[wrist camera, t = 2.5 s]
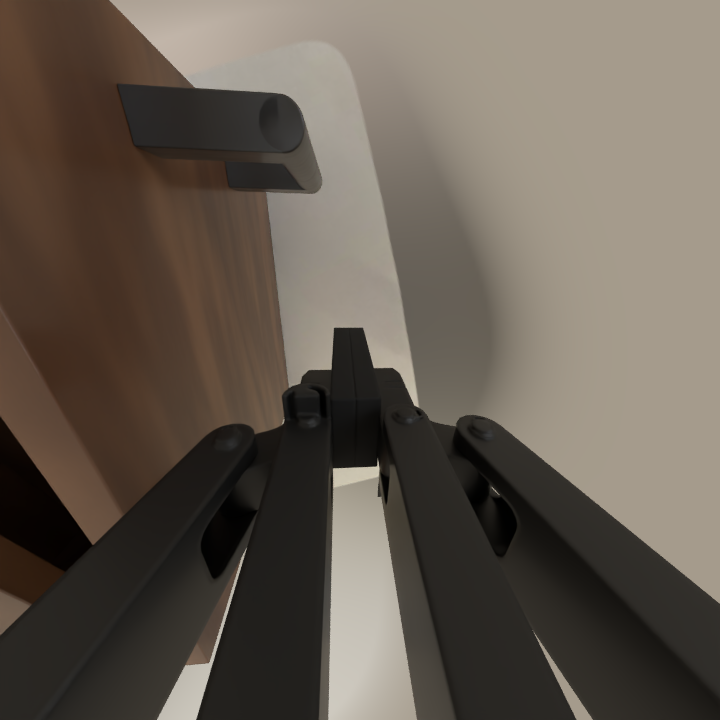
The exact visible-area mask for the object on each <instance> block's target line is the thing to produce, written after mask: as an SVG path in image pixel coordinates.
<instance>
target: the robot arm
mask: <svg viewBox="0 0 720 720" xmlns="http://www.w3.org/2000/svg"><path fill="white" fill-rule="evenodd" d="M282 403H283V411H284V419H285V421H284V424H283V425H281V426H279V427H277V428H275V429H272V430H269V431H265V432H261V433H257V434H255V432H254V429H253V428H252V427H251V426H249V425H246V424H242V423H239V424H229V425H225V426H221V427H219V428H217V429H215V430H213V431H211V432H210V433H209V434H207V435H206V436H205V437H204V438H203V439H202V440H201V441H200V442H199V443H198V444H197V445H195V446H194V447H193V448H192V449H191V450H190V451H189V452H188V453H187V454H186V455H185V456H184V457H183V458H182V459H181V460H180V461H179V462H178V463H177V464H176V465H175V466H174V467H173V468H172V469H171V470H170V471H169V472H168V473H167V474H166V475H165V476H164V477H163V478H162V479H161V480H159V481H158V482H157V483H156V484H155V485H154V486H153V487H152V488H151V489H150V490H149V491H148V492H147V493H146V494H145V495H144V496H143V497H142V498H141V499H140V500H139V501H138V502H137V503H136V504H135V505H134V506H133V507H132V508H131V509H130V510H129V511H128V512H127V513H126V514H125V515H123V516H122V517H121V518H120V519H119V520H118V521H117V522H116V523H115V524H114V525H113V526H112V527H111V528H110V529H109V530H108V531H107V532H106V533H105V534H104V535H103V536H102V537H101V538H100V539H99V540H98V541H97V542H96V543H95V544H94V545H93V546H92V547H91V548H90V549H89V550H87V551H86V552H85V553H84V554H83V555H82V556H81V557H80V558H79V559H78V560H77V561H76V562H75V563H74V564H73V565H72V566H71V567H70V568H69V569H68V570H67V571H66V572H65V573H64V574H63V575H62V576H61V577H60V578H59V579H58V580H57V581H56V582H55V583H54V584H53V585H51V586H50V587H49V588H48V589H47V590H46V591H45V592H44V593H43V594H42V595H41V596H40V597H39V598H38V599H37V600H36V601H35V602H34V603H33V604H32V605H31V606H30V607H29V608H28V609H27V610H26V611H25V612H24V613H23V614H22V615H21V616H20V617H19V618H18V619H17V620H15V621H14V622H13V623H12V624H11V625H10V626H9V627H8V628H7V629H6V630H5V631H4V632H3V633H2V634H1V635H0V720H157V718H158V716H159V714H160V712H161V711H162V709H163V707H164V705H165V703H166V701H167V699H168V697H169V695H170V693H171V691H172V689H173V688H174V686H175V683H176V682H177V680H178V678H179V676H180V674H181V672H182V670H183V668H184V666H185V665H186V663H187V661H188V659H189V657H190V655H191V653H192V651H193V649H194V647H195V645H196V643H197V642H198V640H199V638H200V636H201V634H202V632H203V630H204V628H205V626H206V624H207V622H208V621H209V619H210V617H211V615H212V613H213V611H214V609H215V607H216V605H217V603H218V601H219V599H220V598H221V596H222V594H223V592H224V590H225V588H226V586H227V584H228V582H229V580H230V578H231V576H232V575H233V573H234V571H235V569H236V567H237V565H238V563H239V561H240V559H241V557H242V555H243V553H244V551H245V549H246V548H247V550H246V553H245V556H244V560H243V563H242V567H241V570H240V573H239V577H238V580H237V584H236V587H235V590H234V594H233V597H232V601H231V604H230V607H229V611H228V614H227V618H226V621H225V624H224V628H223V631H222V634H221V638H220V642H219V645H218V648H217V651H216V655H215V659H214V662H213V665H212V668H211V672H210V675H209V679H208V682H207V685H206V689H205V692H204V696H203V699H202V702H201V706H200V709H199V713H198V716H197V719H196V720H328V700H329V654H330V608H331V561H332V514H333V513H332V512H333V468H352V467H375V466H377V460H378V461H379V467H380V471H379V486H378V497H382V503H383V509H384V516H385V522H386V528H387V534H388V541H389V547H390V553H391V559H392V566H393V572H394V578H395V584H396V590H397V596H398V603H399V609H400V615H401V622H402V628H403V634H404V640H405V647H406V653H407V659H408V666H409V671H410V678H411V684H412V690H413V697H414V703H415V709H416V715H417V720H576V718H575V716H574V714H573V712H572V710H571V708H570V706H569V704H568V702H567V700H566V698H565V696H564V694H563V691H562V689H561V687H560V685H559V683H558V681H557V679H556V677H555V675H554V673H553V671H552V669H551V667H550V665H549V663H548V661H547V659H546V657H545V655H544V653H543V651H542V649H541V647H540V645H539V642H538V641H537V638H536V636H535V634H536V635H537V637H538V638H539V640H540V641H541V643H542V645H543V646H544V647H545V649H546V650H547V652H548V653H549V655H550V656H551V658H552V659H553V661H554V662H555V664H556V665H557V667H558V668H559V670H560V671H561V673H562V674H563V676H564V677H565V679H566V680H567V682H568V683H569V685H570V686H571V688H572V689H573V691H574V692H575V694H576V695H577V696H578V698H579V700H580V701H581V703H582V704H583V706H584V707H585V708H586V710H587V711H588V713H589V714H590V716H591V717H592V719H593V720H720V604H719V603H718V602H717V601H716V600H714V599H713V598H712V597H711V596H709V595H708V594H707V593H706V592H705V591H703V590H702V589H701V588H700V587H698V586H697V585H696V584H695V583H693V582H692V581H691V580H690V579H689V578H687V577H686V576H685V575H684V574H682V573H681V572H680V571H679V570H677V569H676V568H675V567H674V566H673V565H671V564H670V563H669V562H668V561H666V560H665V559H664V558H663V557H662V556H660V555H659V554H658V553H657V552H655V551H654V550H653V549H651V548H650V547H649V546H648V545H647V544H646V543H644V542H643V541H642V540H641V539H639V538H638V537H637V536H636V535H634V534H633V533H632V532H631V531H629V530H628V529H627V528H626V527H625V526H623V525H622V524H621V523H620V522H619V521H617V520H616V519H615V518H614V517H612V516H611V515H610V514H608V513H607V512H606V511H605V510H604V509H603V508H601V507H600V506H599V505H598V504H596V503H595V502H594V501H593V500H591V499H590V498H589V497H588V496H586V495H585V494H584V493H583V492H582V491H580V490H579V489H578V488H577V487H576V486H574V485H573V484H572V483H571V482H569V481H568V480H567V479H566V478H564V477H563V476H562V475H561V474H560V473H558V472H557V471H556V470H555V469H553V468H552V467H551V466H550V465H548V464H547V463H546V462H544V460H542V459H541V458H540V457H539V456H537V455H536V454H535V453H534V452H533V451H531V450H530V449H529V448H528V447H526V446H525V445H524V444H523V443H521V442H520V441H519V440H518V439H517V438H515V437H514V436H513V435H512V434H510V433H509V432H508V431H507V430H505V429H504V428H503V427H502V426H501V425H499V424H497V423H496V422H494V421H492V420H490V419H488V418H485V417H481V416H476V415H467V416H464V417H461V418H460V419H459V420H458V421H457V423H456V427H455V426H449V425H444V424H439V423H435V422H432V421H430V420H429V418H428V416H427V415H426V414H425V412H424V411H423V410H421V409H420V408H418V407H416V406H414V404H413V402H412V400H411V397H410V395H409V393H408V391H407V388H405V384H404V382H403V379H402V377H401V375H400V373H398V372H397V371H396V370H394V369H393V368H373V364H372V360H371V356H370V353H369V349H368V345H367V341H366V337H365V334H364V330H363V328H334V338H333V356H332V370H309V371H308V372H307V373H306V374H304V375H303V376H302V380H301V384H298V385H295V386H292V387H290V388H289V389H287V390H286V391H285V392H284V393H283V394H282ZM492 487H493V488H494V489H495V490H496V491H497V492H498V493H499V494H500V495H498V494H497V493H496V492H495V491H494V490H493V489H492ZM533 631H534V632H533ZM534 633H535V634H534Z"/></svg>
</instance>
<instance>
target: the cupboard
mask: <svg viewBox="0 0 720 720" xmlns="http://www.w3.org/2000/svg"><path fill="white" fill-rule="evenodd" d="M92 546H93V545H92V543H91V542H90V540H89V539H88V538H87V536H86V535H85V533H84V532H83V531H82V529H81V528H80V527H79V525H78V524H77V522H76V521H75V520H74V518H73V517H72V515H71V514H70V513H69V511H68V510H67V508H66V507H65V506H64V504H63V503H62V501H61V500H60V499H59V497H58V496H57V495H56V493H55V492H54V490H53V489H52V488H51V486H50V485H49V483H48V482H47V481H46V479H45V478H44V476H43V475H42V474H41V472H40V471H39V469H38V468H37V467H36V465H35V464H34V462H33V461H32V460H31V458H30V457H29V456H28V454H27V453H26V451H25V450H24V449H23V447H22V446H21V444H20V443H19V442H18V440H17V439H16V437H15V436H14V435H13V433H12V432H11V430H10V429H9V428H8V426H7V425H6V424H5V422H4V421H3V419H2V418H1V417H0V635H1V634H2V633H3V632H4V631H5V630H6V629H7V628H8V627H9V626H10V625H11V624H12V623H13V622H14V621H15V620H17V619H18V618H19V617H20V616H21V615H22V614H23V613H24V612H25V611H26V610H27V609H28V608H29V607H30V606H31V605H32V604H33V603H34V602H35V601H36V600H37V599H38V598H39V597H40V596H41V595H42V594H43V593H44V592H45V591H46V590H47V589H48V588H49V587H50V586H51V585H53V584H54V583H55V582H56V581H57V580H58V579H59V578H60V577H61V576H62V575H63V574H64V573H65V572H66V571H67V570H68V569H69V568H70V567H71V566H72V565H73V564H74V563H75V562H76V561H77V560H78V559H79V558H80V557H81V556H82V555H83V554H84V553H85V552H86V551H87V550H89V549H90V548H91V547H92Z"/></svg>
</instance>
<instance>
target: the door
mask: <svg viewBox="0 0 720 720" xmlns="http://www.w3.org/2000/svg"><path fill="white" fill-rule="evenodd" d="M321 185H322V177H321V174H320V170H319V167H318V164H317V161H316V157H315V154H314V151H313V147H312V144H311V141H310V138H309V134H308V131H307V128H306V125H305V121H304V118H303V115H302V112H301V110H300V108H299V107H298V105H297V104H296V103H295V102H294V101H293V100H292V99H291V98H290V97H288V96H286V95H283V94H277V93H265V92H249V91H233V90H216V89H200V88H194V87H193V85H192V84H191V83H190V82H189V81H188V80H187V79H186V78H185V77H184V76H183V75H182V74H181V73H180V72H179V71H178V70H177V69H176V68H175V67H174V66H173V65H172V64H171V63H170V62H169V61H168V60H167V59H166V58H165V57H164V56H163V55H162V54H161V53H160V52H159V51H158V50H157V49H156V48H155V47H154V46H153V45H152V44H151V43H150V42H149V41H148V40H147V39H146V38H145V36H144V35H143V34H141V32H140V31H139V30H138V29H137V28H136V27H135V26H134V25H133V24H132V23H131V22H130V21H129V20H128V19H127V18H126V17H125V16H124V15H123V14H122V13H121V12H120V11H119V10H118V9H117V8H116V7H115V6H114V5H113V4H112V3H111V2H110V1H109V0H0V417H1V418H2V419H3V421H4V422H5V424H6V425H7V426H8V428H9V429H10V430H11V432H12V433H13V435H14V436H15V437H16V439H17V440H18V442H19V443H20V444H21V446H22V447H23V449H24V450H25V451H26V453H27V454H28V456H29V457H30V458H31V460H32V461H33V462H34V464H35V465H36V467H37V468H38V469H39V471H40V472H41V474H42V475H43V476H44V478H45V479H46V481H47V482H48V483H49V485H50V486H51V488H52V489H53V490H54V492H55V493H56V495H57V496H58V497H59V499H60V500H61V501H62V503H63V504H64V506H65V507H66V508H67V510H68V511H69V513H70V514H71V515H72V517H73V518H74V520H75V521H76V522H77V524H78V525H79V527H80V528H81V529H82V531H83V532H84V533H85V535H86V536H87V538H88V539H89V540H90V542H91V543H92V545H94V544H95V543H96V542H97V541H98V540H99V539H100V538H101V537H102V536H103V535H104V534H105V533H106V532H107V531H108V530H109V529H110V528H111V527H112V526H113V525H114V524H115V523H116V522H117V521H118V520H119V519H120V518H121V517H122V516H123V515H125V514H126V513H127V512H128V511H129V510H130V509H131V508H132V507H133V506H134V505H135V504H136V503H137V502H138V501H139V500H140V499H141V498H142V497H143V496H144V495H145V494H146V493H147V492H148V491H149V490H150V489H151V488H152V487H153V486H154V485H155V484H156V483H157V482H158V481H159V480H161V479H162V478H163V477H164V476H165V475H166V474H167V473H168V472H169V471H170V470H171V469H172V468H173V467H174V466H175V465H176V464H177V463H178V462H179V461H180V460H181V459H182V458H183V457H184V456H185V455H186V454H187V453H188V452H189V451H190V450H191V449H192V448H193V447H194V446H195V445H197V444H198V443H199V442H200V441H201V440H202V439H203V438H204V437H205V436H206V435H207V434H209V433H210V432H211V431H213V430H215V429H217V428H219V427H221V426H225V425H229V424H239V423H242V424H246V425H249V426H251V427H252V428H253V429H254V432H255V434H257V433H261V432H265V431H269V430H272V429H275V428H277V427H279V426H281V425H282V422H283V419H284V411H283V403H282V394H283V393H284V392H285V391H286V390H287V389H289V388H288V379H287V370H286V362H285V353H284V344H283V336H282V327H281V318H280V310H279V301H278V292H277V284H276V275H275V266H274V258H273V249H272V241H271V232H270V223H269V215H268V206H267V197H266V192H274V193H303V194H313V193H316V192H317V191H319V189H320V188H321ZM240 560H241V559H240ZM239 564H240V561H239V563H238V565H237V567H236V569H235V571H234V573H233V575H232V576H231V578H230V580H229V582H228V584H227V586H226V588H225V590H224V592H223V594H222V596H221V598H220V599H219V601H218V603H217V605H216V607H215V609H214V611H213V613H212V615H211V617H210V619H209V621H208V622H207V624H206V626H205V628H204V630H203V632H202V634H201V636H200V638H199V640H198V642H197V643H196V645H195V647H194V649H193V651H192V653H191V655H190V657H189V659H188V661H187V663H186V665H193V664H205V663H209V662H210V658H211V656H212V652H213V649H214V646H215V642H216V639H217V636H218V633H219V629H220V626H221V623H222V619H223V616H224V613H225V610H226V606H227V603H228V599H229V596H230V593H231V590H232V587H233V583H234V580H235V577H236V573H237V570H238V567H239Z"/></svg>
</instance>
